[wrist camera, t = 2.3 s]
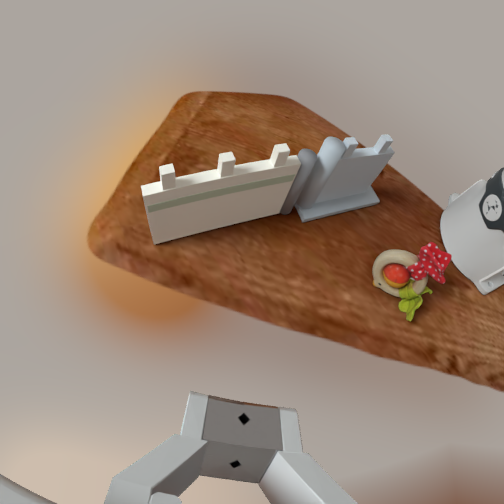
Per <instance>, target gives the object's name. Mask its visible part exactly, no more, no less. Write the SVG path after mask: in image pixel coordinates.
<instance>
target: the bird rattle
mask: <svg viewBox="0 0 504 504" xmlns="http://www.w3.org/2000/svg"><path fill="white" fill-rule="evenodd" d="M451 258H452V256H451V254H449V253H446V252H444V251H440V250H439V249H438V247H437V245H436V244H435V243H433V242H430V243H429V244H427V245H426V246H423V247H422V248H421V249H420V252H419V255H414V254H412V253H410V252H407V251H404V250H395V249H394V250H387V251H385V252H383V253H381V254H380V255H379V256H378V257H377V258H376V260H375V262H374V265H373V270H372V273H373V277H374V280H373V285H374V286H375V287H379V288H381V289H382V290H384V291H385V292H387V293H389V294H391V295H393V296H396V297H400V298H402V300H401V301H400V302H399V309H400V311H402V312H406V313H407V316H406V319H407V320H408V321H410V322H411V321H412V319H413V316H414V312H415V310H416V309H418V308H419V307H420V305H421V304H422V302H423V299H422V297H421V296H420V295H422V294H424V293H426V292H428V293H429V294H432V293H433V292H432V290H430V289H429V288H428V287H426V284H427V281H428V274H429V275H430V276H431V277H432V278H433V279H434V280H436V281H437V282H439V283H440V284H443V283H445V278H444V276H443V274H444V271H445V269H446V267H447V266H448V264H449V262H450V261H451ZM411 276H412V277H413V278H414V279H413V278H411Z"/></svg>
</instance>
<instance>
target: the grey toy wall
mask: <svg viewBox="0 0 504 504" xmlns="http://www.w3.org/2000/svg"><path fill="white" fill-rule="evenodd" d="M392 142H393V140H392V139H391V137H390V136H389V135H382V136H381V137H380V138H379V140H378V141H377V143H376V145H375V146H374V147H371V148H361V149H356V147H357V145H358V142H357V141H356V139H355V138H354V137H350V138H345V139H344V141H343V142H342V141H341V140H340V139H338V138H335V137H327V138H326V139H325V141H324V143H323V145H322V147H321V149H320V151H319V153H318V155H317V161H316V163H315V165H314V167H313V169H312V171H311V173H310V175H309V177H308V179H307V181H306V183H305V185H304V187H303V189H302V191H301V193H300V195H299V197H298V199H297V201H296V203H295V208H296V210H297V212H298V214H299V216H300V218H301V220H302V222H307V221H311V220H315V219H319V218H323V217H327V216H331V215H335V214H339V213H343V212H347V211H351V210H355V209H359V208H363V207H368V206H372V205H376V204H378V203H379V202H380V201H379V199H378V197H377V195H376V194H375V192H374V190H373V189H372V187H371V184H372V182H373V181H374V180H375V179H376V177H377V176H378V175H379V173H380V172H381V171H382V169H383V168H384V167H385V165H386V164H387V162H388V161H389V160H390V158H391V157H392V156H393V154H394V151H393V150H392V148H391V147H390V144H391V143H392Z"/></svg>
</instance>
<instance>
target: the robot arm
mask: <svg viewBox="0 0 504 504" xmlns="http://www.w3.org/2000/svg"><path fill="white" fill-rule="evenodd" d="M440 228H441V235H442V239H443V243H444V245H445V248H446V250H447V252H448V253H449V254H451V256H452V258H451V260H452V261H453V263H454V264H455V266H456V267H457V268H458V269H459V270H460V271H461V272H462V273H463V274H464V275H465V276H466V277H468V278H469V279H470V280H471V281H473V282H474V284H475V285H476V287H477V288H478V290H479V291H480V292H481V293H482V294H483V295H486V294H488V293H489V292H491V291H493V290H495V289H496V288H498V287H500V286H501V285H503V284H504V168H501V169H500V170H499V171H497V172H496V173H494V175H493V176H492V177H491V178H490V179H489V180H488V181H486V180H479V181H478V182H476V183H475V184H474V185H472V186H471V187H470V188H468V189H467V190H466V191H465V192H463V193H462V194H461V195H459V194H457V193H453V194H452V195H450V197H449V204H448V207H447V208H446V209H445V210H444V212H443V214H442V216H441V222H440ZM199 475H201V476H208V477H214V478H222V479H230V480H236V481H243V482H251V483H258V484H259V486H260V488H261V489H262V491H263V493H264V494H265V496H266V497H267V499H268V500H269V502H270V503H271V504H358V503H357V502H356V501H355V500H354V499H353V498H352V497H351V496H350V495H349V494H348V493H347V492H345V491H344V489H343V488H341V487H340V485H339V484H337V482H336V481H335V480H333V478H332V477H331V476H330V475H329V474H327V472H326V471H325V470H324V469H323V468H322V467H321V466H320V465H319V464H318V463H317V462H316V461H315V460H314V459H313V458H312V456H311V455H310V454H309V453H303V448H302V440H301V434H300V427H299V420H298V413H297V410H296V409H292V408H284V407H275V406H268V405H261V404H253V403H247V402H240V401H234V400H229V399H225V398H220V397H216V396H211V395H209V396H208V395H205V394H201V393H197V392H193V391H190V393H189V397H188V401H187V405H186V410H185V414H184V419H183V424H182V429H181V433H180V435H177V434H174V435H172V436H171V437H170V438H168V439H167V440H166V441H164V442H163V443H162V444H160V445H159V446H158V447H156V448H155V449H154V450H152V451H151V452H149V453H148V454H146V455H145V456H143V457H142V458H141V459H139V460H138V461H136V462H135V463H133V464H132V465H130V466H129V467H128V468H126V469H125V470H123V471H122V472H120V473H119V474H117V475H116V476H114V477H113V479H112V481H111V484H110V488H109V490H108V493H107V496H106V500H105V502H104V504H181V503H182V501H181V500H180V499H179V498H178V497H179V496H180V495H181V494H182V493H183V492H184V491H185V490H186V489H187V488H188V487H189V486H190V485H191V484H192V483H193V482H194V481H195V480H196V479H197V478H198V476H199ZM0 504H57V503H54V502H52V501H50V500H48V499H46V498H44V497H41V496H40V495H37V494H35V493H33V492H32V491H30V490H28V489H26V488H24V487H22V486H20V485H18V484H17V483H15V482H13V481H11V480H10V479H8V478H6V477H4V476H3V475H1V474H0Z"/></svg>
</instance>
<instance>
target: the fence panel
mask: <svg viewBox="0 0 504 504" xmlns="http://www.w3.org/2000/svg"><path fill="white" fill-rule="evenodd" d="M289 153H290V150H289V148H288V146H287V144H286V143H285V144H278V145H275V146H274V149H273V152H272V155H271V158H270V159H269V160H263V161H257V162H252V163H246V164H240V165H235V158H234V155H233V153H232V152H228V153H222V154H219V161H218V168H217V169H214V170H209V171H205V172H200V173H195V174H190V175H186V176H181V177H177V178H175V171H174V167H173V164H168V165H163V166H159V170H160V179H161V181H160V182H155V183H151V184H147V185H143V186H141V189H142V194H143V199H144V203H145V208H146V213H147V217H148V221H149V226H150V230H151V234H152V238H153V242H154V244H158V243H162V242H166V241H169V240H173V239H177V238H181V237H185V236H189V235H193V234H197V233H201V232H204V231H208V230H212V229H216V228H220V227H225V226H229V225H233V224H237V223H241V222H245V221H249V220H253V219H257V218H262V217H266V216H270V215H274V214H278V213H279V212H280V213H281V214H284V215H286V214H289V213H290V212H291V210H292V209H293V207H294V205H295V203H296V201H297V199H298V197H299V195H300V193H301V191H302V189H303V187H304V185H305V183H306V181H307V179H308V177H309V175H310V173H311V171H312V169H313V167H314V165H315V163H316V161H317V155H316V154H315V152H313V151H312V150H310V149H302V150H300V152H299V154H298V156H297V155H295V156H288V155H289ZM234 165H235V166H234Z"/></svg>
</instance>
